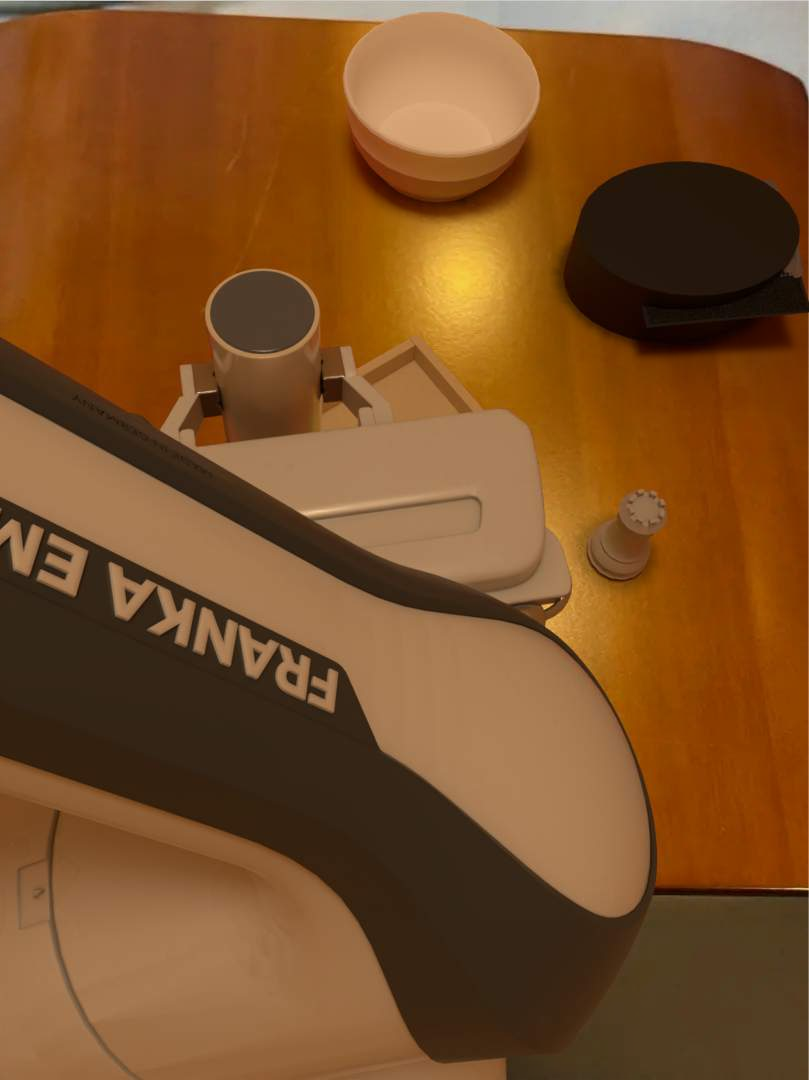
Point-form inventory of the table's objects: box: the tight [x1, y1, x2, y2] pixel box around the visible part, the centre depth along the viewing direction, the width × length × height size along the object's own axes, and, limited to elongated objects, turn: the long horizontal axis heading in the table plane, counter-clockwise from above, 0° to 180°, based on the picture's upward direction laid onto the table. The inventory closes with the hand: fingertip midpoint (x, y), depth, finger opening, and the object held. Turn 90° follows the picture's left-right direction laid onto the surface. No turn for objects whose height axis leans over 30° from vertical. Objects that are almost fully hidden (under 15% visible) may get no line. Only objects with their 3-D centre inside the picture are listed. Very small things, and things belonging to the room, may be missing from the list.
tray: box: [322, 333, 485, 431], centre depth 73 cm, size 17×13×3 cm
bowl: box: [342, 11, 541, 203], centre depth 83 cm, size 16×16×8 cm
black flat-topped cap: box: [563, 160, 809, 344], centre depth 80 cm, size 14×18×8 cm
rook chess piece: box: [587, 488, 668, 581], centre depth 69 cm, size 4×4×8 cm
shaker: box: [204, 267, 322, 443], centre depth 42 cm, size 4×4×10 cm
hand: (265, 363), depth 42 cm, fingers closed on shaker, 4 cm apart
